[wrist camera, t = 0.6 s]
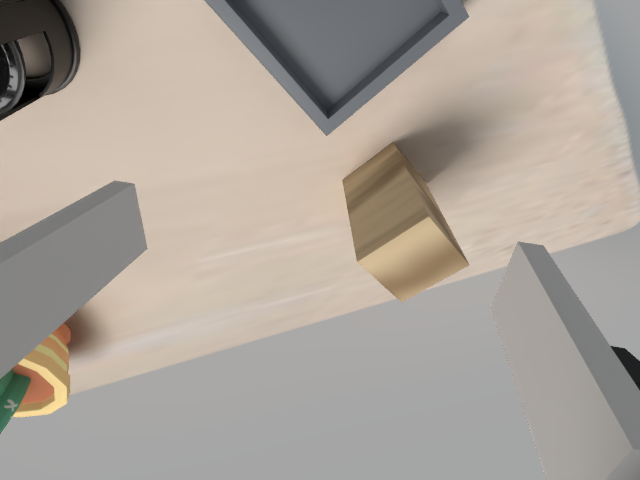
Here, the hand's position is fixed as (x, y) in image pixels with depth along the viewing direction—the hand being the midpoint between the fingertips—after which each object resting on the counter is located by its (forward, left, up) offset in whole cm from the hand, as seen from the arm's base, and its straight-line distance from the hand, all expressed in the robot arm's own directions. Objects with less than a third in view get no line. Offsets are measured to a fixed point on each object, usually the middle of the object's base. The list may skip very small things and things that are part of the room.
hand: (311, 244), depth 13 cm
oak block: (+12, +5, -22) cm, 25 cm away
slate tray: (-4, +4, -22) cm, 22 cm away
